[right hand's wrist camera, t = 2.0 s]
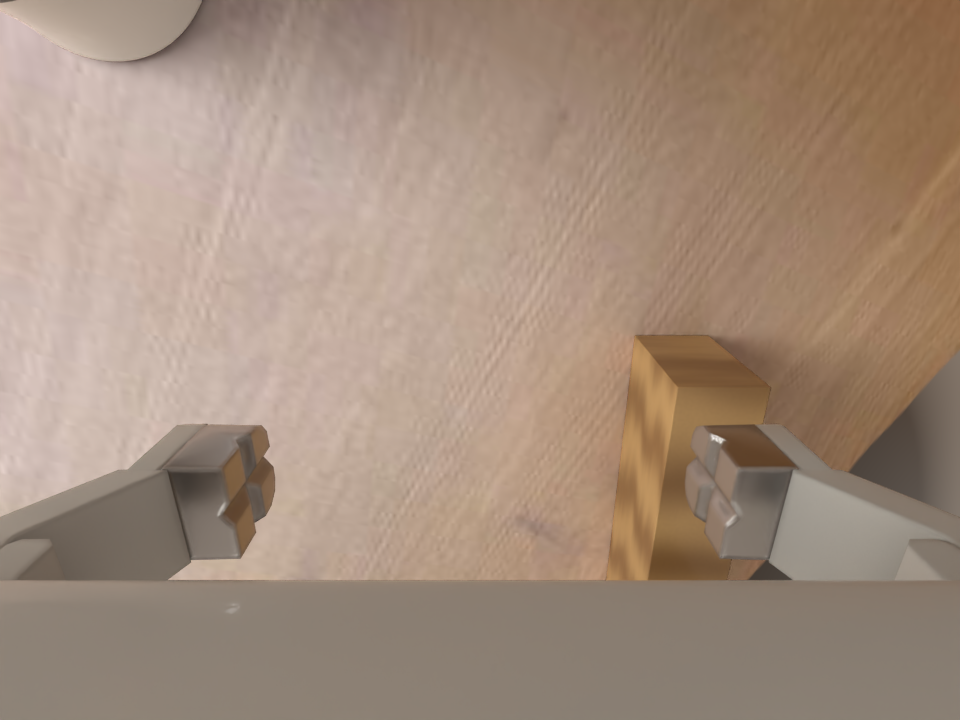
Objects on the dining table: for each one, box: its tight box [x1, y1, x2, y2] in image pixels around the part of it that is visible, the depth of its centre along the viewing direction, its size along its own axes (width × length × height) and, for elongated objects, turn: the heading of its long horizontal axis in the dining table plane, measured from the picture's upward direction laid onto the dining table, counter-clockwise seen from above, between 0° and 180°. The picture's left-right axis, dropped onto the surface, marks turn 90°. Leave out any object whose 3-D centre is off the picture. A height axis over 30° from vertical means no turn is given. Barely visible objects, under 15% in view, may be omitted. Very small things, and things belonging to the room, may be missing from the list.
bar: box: [606, 336, 771, 580], centre depth 40 cm, size 25×6×9 cm, turn 0°
